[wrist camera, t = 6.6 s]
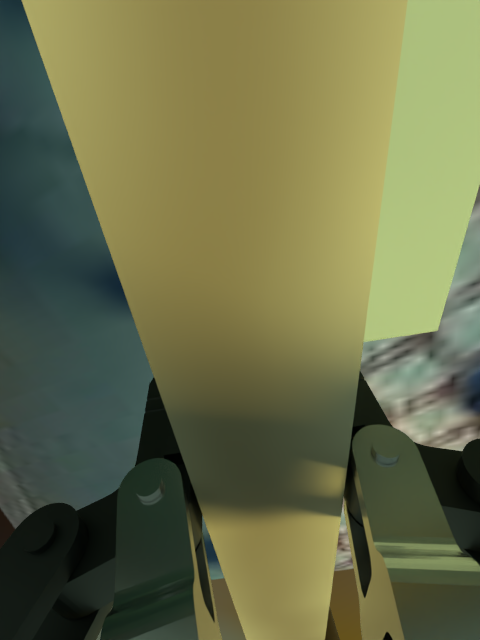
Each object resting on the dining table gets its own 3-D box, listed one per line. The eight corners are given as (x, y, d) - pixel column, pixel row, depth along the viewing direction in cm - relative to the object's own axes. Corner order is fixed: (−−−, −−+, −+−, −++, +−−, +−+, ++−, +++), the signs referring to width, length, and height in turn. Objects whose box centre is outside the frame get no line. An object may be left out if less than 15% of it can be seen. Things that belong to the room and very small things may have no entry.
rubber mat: (567, -152, 17) (578, -159, 16) (434, 327, 34) (437, 330, 34) (333, -126, 17) (337, -132, 16) (317, 344, 34) (319, 348, 33)
